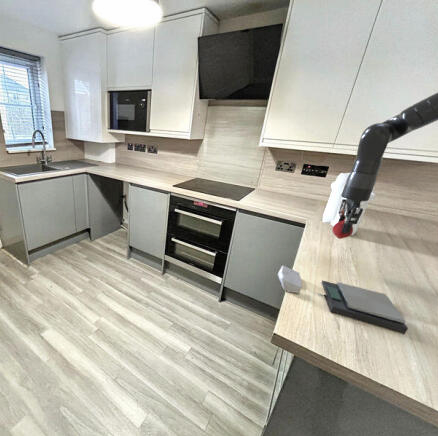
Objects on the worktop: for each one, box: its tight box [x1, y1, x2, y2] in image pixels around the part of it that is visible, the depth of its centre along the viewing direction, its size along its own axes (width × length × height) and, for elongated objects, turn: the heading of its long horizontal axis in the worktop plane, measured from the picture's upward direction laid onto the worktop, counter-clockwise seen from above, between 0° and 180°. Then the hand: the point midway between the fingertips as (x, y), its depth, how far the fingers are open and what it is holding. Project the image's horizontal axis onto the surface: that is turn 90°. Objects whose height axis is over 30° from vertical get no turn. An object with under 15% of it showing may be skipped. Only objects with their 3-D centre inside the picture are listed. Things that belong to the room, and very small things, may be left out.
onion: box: [332, 220, 353, 240], centre depth 87 cm, size 6×6×8 cm
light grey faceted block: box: [277, 265, 303, 294], centre depth 77 cm, size 10×6×6 cm, turn 149°
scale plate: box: [335, 281, 406, 324], centre depth 68 cm, size 12×12×1 cm
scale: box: [321, 280, 409, 335], centre depth 69 cm, size 16×14×2 cm
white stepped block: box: [322, 172, 376, 237], centre depth 125 cm, size 27×11×30 cm, turn 168°
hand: (342, 229), depth 87 cm, fingers closed on onion, 6 cm apart
